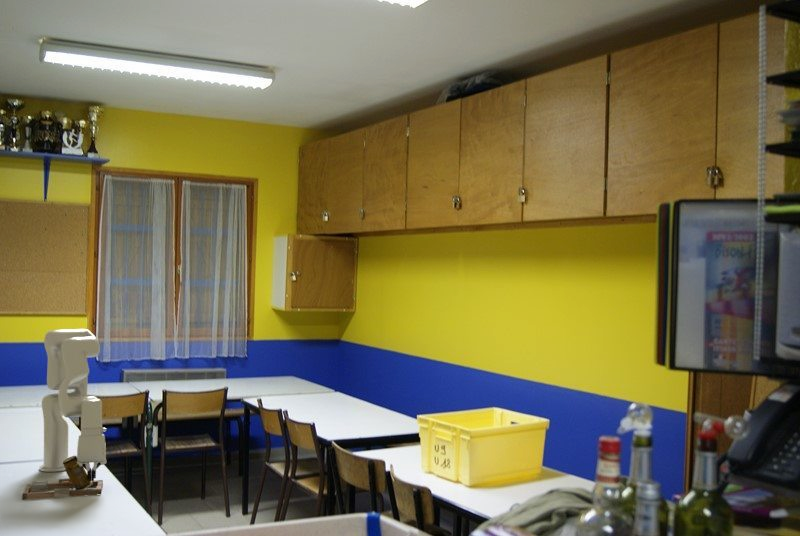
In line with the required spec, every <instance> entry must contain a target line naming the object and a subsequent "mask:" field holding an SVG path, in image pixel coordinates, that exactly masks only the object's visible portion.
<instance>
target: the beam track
mask: <svg viewBox="0 0 800 536" xmlns="http://www.w3.org/2000/svg"><path fill="white" fill-rule="evenodd" d="M92 483H93V485H91V486H89V487H88V488H86V489H80V490H74V486H73V484H72V482H71V480H70V478H69V477H68V478H58V482H51V483H50V482H49V483H48V480H44V481H32V483H30V484H26V487H25V488H24V490H23V491H22V495H21V498H22V499H21V500H24V501H26V500H37V499H38V500H40V499H52V498H53V499H66V498H65V497H68V498H70V497H83V496H85V495H88V496H98V495H97V494H101V495H102V492H103V491H102V490H103V486H104V481H103V479H98V480H97V479H96V480H94V481H92ZM96 486H97V487H96ZM49 489H51V490H50V491H49ZM52 490H53V491H52ZM85 497H86V496H85Z"/></svg>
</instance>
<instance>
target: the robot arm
mask: <svg viewBox="0 0 800 536" xmlns="http://www.w3.org/2000/svg"><path fill="white" fill-rule="evenodd" d="M43 341H44V342H43V344H44V349H45V351H46V356H47V369H46V370H47V372H46V386H47V388H48V389H49V390H52V391H58V392H52V393H51V392H50V393H48V394H46V395H45V396H43V398H42V399H41V400H42V401H41V408H42V409H41V411H42V416H43V464H41V465H39V471H41V472H44V473H45V472H46V473H48V472H49V473H53V472H54V473H55V472H56V473H57V472H62V471H65V467H64V464H63V461H65V460H66V459H68V458H69V425H68V422H67V421H66V420H65V419H64V418H63V417H65V418H80V435H78V439H77V449H76V453H77V454H76V456H77V464H79V466H82V467H83V468H84V469H85V471H86V473H87V479H89V481H91V480H92V481H95V479H96V478H97V470H98V468H100V466H104V465H106V464H107V448H106V447H107V446H106V445H107V444H106V437H105V436H106V435H105V434H104V433H105V432H107V428H106V427H103V401H102V400H101V399H100V398H98V397H97V396H93V395H88V382H89V379H88V377H89V374H90V367H89V363H88V358H96V357H98V356H99V354H100V353H101V347H100V342H99V339H98V338H97V337H96V336H95V335H94V334H93V333H92V332H91V331H90V330H89V329H86V328H75V329H74V328H73V329H72V328H69V329H65V328H63V329H62V328H61V329H54V330H53V329H52V330H49V331H47V332H46V333H45V335H44V340H43ZM68 390H73V391H68ZM90 463H93V467H92V468H91V465H90Z"/></svg>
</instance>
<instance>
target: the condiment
mask: <svg viewBox="0 0 800 536" xmlns="http://www.w3.org/2000/svg"><path fill="white" fill-rule="evenodd" d="M63 464H64V467H65V470H64V471H65V472H66V475H67V476H68V478H70V480H71V482H72V484H73V486H74V488H73V490H80V489H88V488H90V487H89V486H91V485H93V483H92V480H91V481H89V479H87V470H86V469H85V468H84V467H82V466H79V464H77V455H72V456H70V457H69V456H68V459H66V460H65V461H63Z"/></svg>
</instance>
